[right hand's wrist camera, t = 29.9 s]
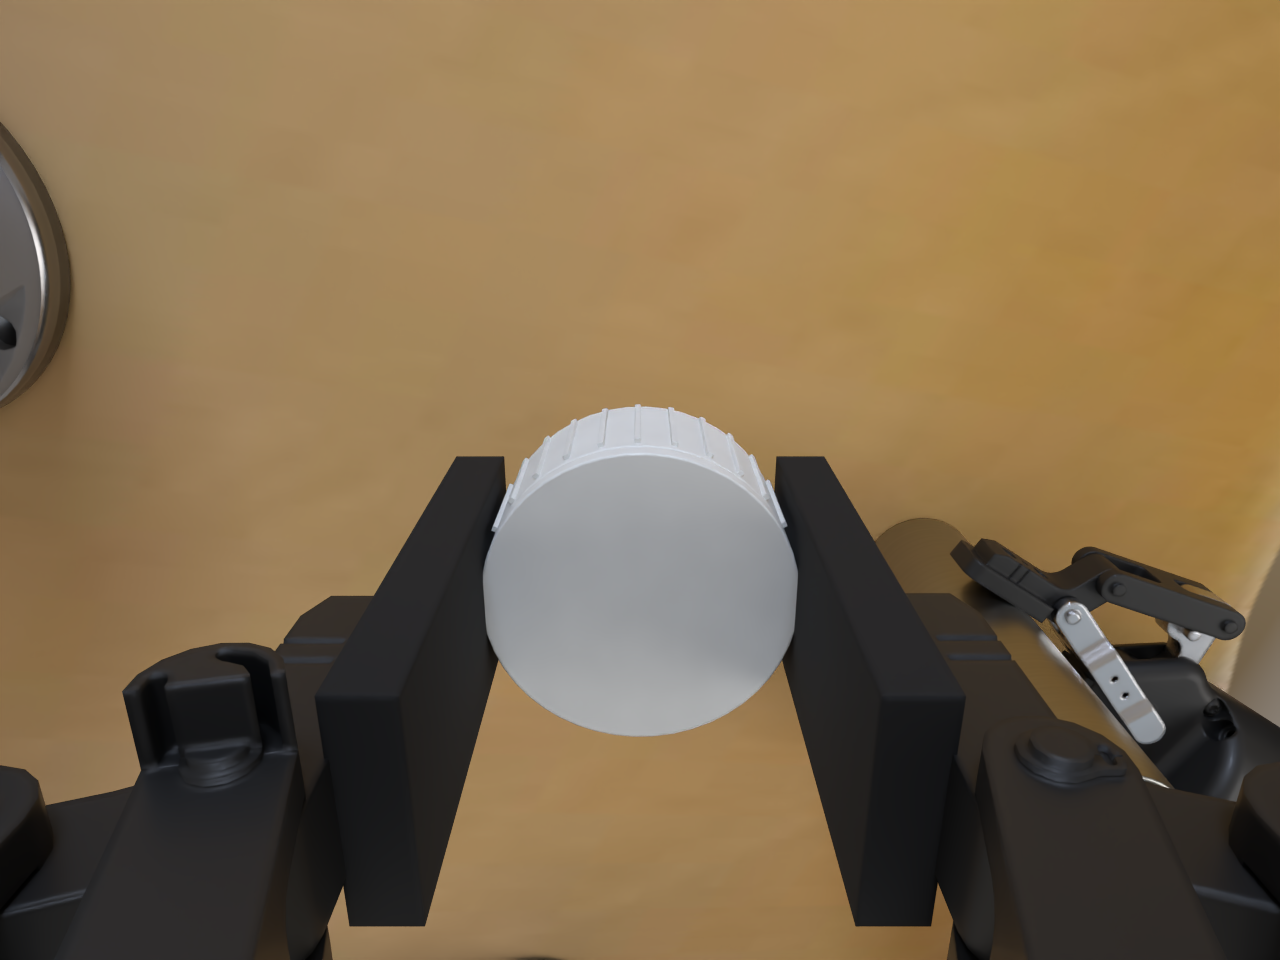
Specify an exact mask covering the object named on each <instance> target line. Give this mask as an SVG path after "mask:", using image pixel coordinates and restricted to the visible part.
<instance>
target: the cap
mask: <svg viewBox="0 0 1280 960" xmlns="http://www.w3.org/2000/svg"><path fill="white" fill-rule="evenodd" d="M785 527H787V524H786V521H785V518H784V516H783V513H782V511H781V508H780V506H779V503H778V500H777V498H776V495H775V493H774V490H773V488H772V485H771V483H770V480H767V481H765V479H764V477H763V475H762V474H761V472H760V470H759V467H758V465H757V462H756V459H755V457H754V456H753V455H752V454H751V455H750V456H749V455H748V454H747V453H746V452H745V450H744V449H742V448H741V447H740V446H739V445H738V444H737V443H736V442H735V441H734V438H733V435H731V434H730V433H728V434H727V435H726V434H725V433H723V432H722V431H721V430H719V429H718V428H716V427H714V426H712V425H711V424H709V423H707V422H706V421H705V418H703V417H700V418H696V417H693V416H690V415H688V414H685V413H682V412H678V411H674V408H672V407H668V409H664V408H655V407H641V404H635V407H625V408H618V409H611V410H608V408H605V409H602V412H600V413H596V414H593V415H590V416H587V417H585V418H583V419H580V420H578V421H577V419H574V420H572V421H571V424H570V425H568V426H567V427H565V428H563V429H562V430H560V431H558V432H557V433H556V434H554V435H553V436H552V437H551V438H550V437H549V436H547V437H546V438H545V439H544V442H543V444H542V445H541V446H540V447H539V448H538V449H537V450H536V451H535V453H534V454H533V455H532V456H531V457H530V458H529V459H527V458H525V459H524V460H523V463H522V465H521V468H520V471H519V473H518V476H517V479H516V481H515V483H514V484H509V486H508V489H507V491H506V494H505V497H504V499H503V502H502V504H501V507H500V509H499V512H498V515H497V517H496V520H495V522H494V525H493V527H492V530H491V531H493V532H495V535H494V537H493V540H492V543H491V545H490V548H489V551H488V554H487V557H486V559H485V564H484V569H483V590H484V604H485V618H486V631H487V635H488V638H489V640H490V643H491V645H492V648H493V650H494V652H495V654H496V656H497V657H498V659H499V661H500V662H501V664H502V666H503V668H504V669H505V670H506V672H507V673H508V674H509V675H510V677H511V678H512V679H513V681H514V682H515V683H516V684H517V685H518V686H519V687H520V688H521V689H522V690H523V691H524V692H525V693H526V694H527V695H528V696H529V697H530V698H532V699H533V700H534V701H536V702H537V703H538V704H540V705H541V706H542V707H543V708H545V709H547V710H548V711H550V712H552V713H553V714H555V715H557V716H558V717H560V718H562V719H565V720H567V721H569V722H571V723H574V724H576V725H578V726H581V727H585V728H588V729H591V730H594V731H598V732H603V733H608V734H613V735H622V736H633V737H640V736H659V735H667V734H674V733H678V732H682V731H686V730H690V729H694V728H696V727H699V726H702V725H704V724H707V723H710V722H712V721H714V720H716V719H718V718H720V717H722V716H724V715H726V714H728V713H729V712H731V711H732V710H734V709H735V708H737V707H738V706H740V705H741V704H743V703H744V702H745V701H747V700H748V699H749V698H750V697H751V696H752V695H754V694H755V693H756V692H757V691H758V690H759V689H760V688H761V687H762V686H763V685H764V683H765V682H766V681H767V680H768V679H769V678H770V677H771V675H772V674H773V673H774V671H775V670H776V668H777V667H778V665H779V664H780V662H781V661H782V659H783V657H784V655H785V653H786V651H787V649H788V647H789V645H790V643H791V640H792V637H793V634H794V626H795V613H796V598H797V584H798V569H797V565H796V561H795V558H794V554H793V551H792V548H791V546H790V543H789V540H788V538H787V535H786V532H785V530H784V528H785Z"/></svg>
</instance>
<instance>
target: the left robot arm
mask: <svg viewBox="0 0 1280 960" xmlns="http://www.w3.org/2000/svg"><path fill="white" fill-rule="evenodd" d="M950 555H951V556H952V558H953V559H954V560H955V562H956V563H957V564H958V566H959V567H960V568H961V569H962V571H963V572H964V573H965V574H967V575H968V576H969V577H970V578H971V579H973V580H974V581H976V582H977V583H979V584H980V585H982V586H984V587H985V588H987V589H988V590H990V591H992V592H993V593H995V594H996V595H998V596H1000V597H1001V598H1003V599H1004V600H1006V601H1008V602H1009V603H1011V604H1012V605H1014V606H1015V607H1017V608H1019V609H1021V610H1022V611H1024V612H1025V613H1027V614H1028V615H1030V616H1031V617H1033V618H1035V619H1036V620H1038V621H1039V622H1041V623H1042V622H1043V621H1044V620H1045V619H1046V618H1047V619H1048V621H1049V622H1050V623H1049V624H1050V626H1051V627H1052V629H1053V630H1054V632H1055V633H1056V635H1057V636H1058V638H1059V639H1060V641H1061V642H1062V644H1063V645H1064V647H1065V648H1066V650H1067V651H1068V652H1066V651H1065V650H1064V651H1063V652H1062V653H1061V654H1062V655H1063V656H1064V657H1065V658H1066V660H1067V661H1068V662H1069V663H1070V664H1071V666H1072V667H1073V668H1074V669H1075V670H1076V671H1077V673H1078V674H1079V675H1080V676H1081V677H1082V679H1083V680H1084V681H1085V682H1086V683H1087V685H1088V686H1089V687H1090V688H1091V689H1092V691H1093V692H1094V693H1095V694H1096V695H1097V697H1098V698H1099V699H1100V700H1101V701H1102V703H1103V704H1104V705H1105V706H1106V707H1107V709H1108V710H1109V711H1110V712H1111V713H1112V715H1113V716H1114V717H1115V718H1116V719H1117V720H1118V722H1119V723H1120V724H1121V725H1122V726H1123V728H1124V729H1125V730H1126V731H1127V732H1128V734H1129V735H1130V736H1131V737H1132V738H1133V740H1134V741H1135V742H1136V743H1137V744H1138V746H1139V747H1140V748H1141V749H1142V750H1143V752H1144V753H1145V754H1146V755H1147V756H1148V758H1149V759H1150V760H1151V761H1152V762H1153V763H1154V765H1155V766H1156V767H1157V768H1158V769H1159V771H1160V772H1161V773H1162V774H1163V775H1164V777H1165V778H1166V779H1167V780H1168V781H1169V783H1170V784H1171V785H1172V786H1173V787H1174V789H1176V790H1181V791H1186V792H1191V793H1196V794H1201V795H1206V796H1210V797H1215V798H1220V799H1225V800H1230V801H1235V802H1236V801H1237V798H1238V795H1239V791H1240V788H1241V785H1242V781H1243V778H1244V776H1245V775H1246V774H1248V773H1249V772H1250V771H1251V770H1252V769H1253V768H1255V767H1256V766H1257V765H1263V764H1269V763H1275V762H1280V727H1278V726H1277V725H1275V724H1274V723H1272V722H1270V721H1269V720H1267V719H1266V718H1264V717H1263V716H1261V715H1259V714H1258V713H1256V712H1255V711H1253V710H1252V709H1250V708H1249V707H1247V706H1246V705H1244V704H1242V703H1241V702H1239V701H1238V700H1236V699H1235V698H1233V697H1231V696H1230V695H1228V694H1227V693H1225V692H1224V691H1222V690H1221V689H1219V688H1217V687H1216V686H1214V685H1213V684H1211V683H1210V682H1208V681H1207V679H1206V676H1205V673H1204V671H1203V669H1202V668H1201V667H1200V665H1199V662H1200V661H1201V659H1202V658H1203V656H1204V655H1205V653H1206V652H1207V650H1208V649H1209V647H1210V646H1211V644H1212V643H1213V641H1214V640H1215V638H1218V639H1221V640H1230V639H1233V638H1235V637H1237V636H1238V635H1240V634H1241V633H1242V631H1243V630H1244V628H1245V623H1246V622H1245V618H1244V617H1243V616H1242V615H1241V614H1240V613H1239V612H1237V611H1236V610H1235V609H1233V608H1232V607H1231V606H1230V605H1229V604H1227V603H1226V602H1225V601H1223V600H1222V599H1221V598H1220V597H1218V596H1217V595H1216V594H1214V593H1213V592H1211V591H1210V590H1209V589H1208V588H1206V587H1205V586H1204V585H1202V584H1200V583H1198V582H1195V581H1192V580H1189V579H1186V578H1183V577H1180V576H1177V575H1174V574H1171V573H1168V572H1165V571H1162V570H1160V569H1157V568H1154V567H1151V566H1148V565H1145V564H1142V563H1139V562H1136V561H1133V560H1130V559H1127V558H1124V557H1121V556H1118V555H1115V554H1112V553H1110V552H1107V551H1104V550H1101V549H1098V548H1095V547H1084V548H1082V549H1080V550H1078V551H1077V552H1076V553H1075V554H1074V556H1073V558H1072V565H1070V566H1068V567H1067V568H1065V569H1063V570H1061V571H1059V572H1055V573H1047V572H1043V571H1041V570H1040V569H1038V568H1036V567H1035V566H1033V565H1032V564H1030V563H1029V562H1027V561H1026V560H1024V559H1022V558H1021V557H1019V556H1018V555H1016V554H1014V553H1013V552H1012V551H1010V550H1009V549H1007V548H1005V547H1004V546H1002V545H1001V544H999V543H998V542H996V541H993V540H988V539H981V540H980V541H979V542H978V543H977V544H976V546H975V547H973V546H972V545H970V544H969V543H967V542H966V541H964V540H961V541H960V542H959V543H958V544H957V545H956V547H955V548H954V549H953V550H952V551H951V552H950ZM1106 602H1109V603H1112V604H1115V605H1118V606H1121V607H1124V608H1127V609H1130V610H1133V611H1136V612H1139V613H1142V614H1145V615H1148V616H1151V617H1154V618H1155V621H1156V623H1157V624H1158V625H1159V626H1160V627H1161V628H1162V629H1163V630H1164V631H1166V632H1167V633H1168V641H1167V643H1164V642H1158V643H1138V644H1118V645H1111V644H1110V642H1109V641H1108V640H1107V638H1106V637H1105V635H1104V634H1103V632H1102V631H1101V629H1100V628H1099V626H1098V625H1097V623H1096V621H1095V620H1094V618H1093V617H1092V615H1091V614H1090V611H1092V610H1094V609H1096V608H1097V607H1099V606H1101V605H1102V604H1104V603H1106Z"/></svg>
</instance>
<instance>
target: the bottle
mask: <svg viewBox="0 0 1280 960" xmlns="http://www.w3.org/2000/svg"><path fill="white" fill-rule="evenodd" d="M961 540H964V541H966V542H967V543H969V542H968V541H967V540H966V539H965V538H964V537H963V535H962V534H961V533H960V532H959V531H958V530H957V529H955V528H954V527H952V526H951V525H949V524H947V523H945V522H942V521H939V520H935V519H923V518H922V519H913V520H908V521H905V522H902V523H900V524H897V525H895V526H893V527H892V528H890V529H888V530H887V531H886V532H885V533H883V534H882V535H881V536H880V537H879V538H878V539H877V540H876V542H875V543H876V545H877V547H878V548H879V550H880V552H881V553H882V555H883V557H884V558H885V560H886V562H887V563H888V565H889V567H890V568H891V570H892V572H893V574H894V575H895V577H896V579H897V580H898V582H899V584H900V585H901V587H902V589H903V590H904V592H905V593H950V594H952V595H954V596H955V597H957V598H958V599H960V600H961V601H963V602H964V603H966V604H967V605H969V606H970V607H972V608H974V609H975V610H977V611H978V612H980V613H981V614H982V616H983V617H984V619H985V620H986V621H987V623H988V624H989V625H990V627H991V628H992V630H993V631H994V632H995V634H996V635H997V640H998V641H1001V642H1002V643H1003V645H1004V646H1005V647H1006V649H1007V650H1008V651H1009V653H1010V654H1011V659H1012V660H1015V661H1016V662H1017V664H1018V665H1019V667H1020V668H1021V669H1022V671H1023V672H1024V673H1025V675H1026V676H1027V677H1028V679H1029V680H1030V682H1031V683H1032V684H1033V686H1034V687H1035V688H1036V690H1037V691H1038V693H1039V694H1040V695H1041V697H1042V698H1043V699H1044V701H1045V702H1046V703H1047V705H1048V706H1049V708H1050V709H1051V710H1052V712H1053V713H1054V714H1055V716H1056V717H1057V719H1060V720H1065V721H1069V722H1074V723H1076V724H1078V725H1081V726H1083V727H1085V728H1088V729H1090V730H1092V731H1095V732H1097V733H1099V734H1102V735H1103V736H1105V737H1106V738H1107V739H1109V740H1110V741H1112V742H1113V743H1114V744H1116V745H1117V746H1119V747H1120V748H1121V749H1123V750H1124V751H1125V752H1126V753H1127V754H1128V756H1129V757H1130V758H1131V760H1132V761H1133V762H1134V764H1135V765H1136V766H1137V768H1138V769H1139V771H1140V773H1141V775H1142V777H1143V779H1144V781H1145V782H1149V783H1152V784H1156V785H1160V786H1164V787H1167V788H1172V789H1174V787H1173V786H1172V785H1171V784H1170V783H1169V781H1168V780H1167V779H1166V778H1165V777H1164V775H1163V774H1162V773H1161V772H1160V771H1159V769H1158V768H1157V767H1156V766H1155V765H1154V763H1153V762H1152V761H1151V760H1150V759H1149V758H1148V756H1147V755H1146V754H1145V753H1144V752H1143V750H1142V749H1141V748H1140V747H1139V746H1138V744H1137V743H1136V742H1135V741H1134V740H1133V738H1132V737H1131V736H1130V735H1129V734H1128V732H1127V731H1126V730H1125V729H1124V728H1123V726H1122V725H1121V724H1120V723H1119V722H1118V720H1117V719H1116V718H1115V717H1114V716H1113V715H1112V713H1111V712H1110V711H1109V710H1108V709H1107V707H1106V706H1105V705H1104V704H1103V703H1102V701H1101V700H1100V699H1099V698H1098V697H1097V695H1096V694H1095V693H1094V692H1093V691H1092V689H1091V688H1090V687H1089V686H1088V685H1087V683H1086V682H1085V681H1084V680H1083V679H1082V677H1081V676H1080V675H1079V674H1078V673H1077V671H1076V670H1075V669H1074V668H1073V667H1072V666H1071V664H1070V663H1069V662H1068V661H1067V660H1066V658H1065V657H1064V656H1063V655H1062V654H1061V652H1060V651H1059V650H1058V649H1057V648H1056V646H1055V645H1054V644H1053V643H1052V642H1051V640H1050V639H1049V638H1048V637H1047V636H1046V634H1045V633H1044V632H1043V631H1042V630H1041V628H1040V627H1039V626H1038V625H1037V624H1036V623H1035V621H1034V620H1033V619H1032V618H1031V617H1030V615H1028V614H1027V613H1025V612H1024V611H1022V610H1021V609H1019V608H1017V607H1015V606H1014V605H1012V604H1011V603H1009V602H1008V601H1006V600H1004V599H1003V598H1001V597H1000V596H998V595H996V594H995V593H993V592H992V591H990V590H988V589H987V588H985V587H984V586H982V585H980V584H979V583H977V582H976V581H974V580H973V579H971V578H970V577H969V576H968V575H967V574H965V573H964V572H963V571H962V569H961V568H960V567H959V566H958V564H957V563H956V562H955V560H954V559H953V558H952V556H951V555H950V552H951V551H952V550H953V549H954V548H955V547H956V545H957V544H958V543H959V542H960V541H961Z"/></svg>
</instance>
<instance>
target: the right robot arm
mask: <svg viewBox="0 0 1280 960" xmlns="http://www.w3.org/2000/svg"><path fill="white" fill-rule="evenodd" d="M69 302H70V269H69V260H68V254H67V248H66V243H65V239H64V235H63V231H62V227H61V224H60V221H59V218H58V216H57V213H56V210H55V207H54V205H53V202H52V200H51V198H50V196H49V194H48V192H47V189H46V187H45V185H44V183H43V182H42V180H41V178H40V176H39V174H38V173H37V171H36V169H35V167H34V166H33V164H32V163H31V161H30V160H29V158H28V157H27V155H26V154H25V152H24V151H23V149H22V148H21V146H20V145H19V144H18V143H17V141H16V140H15V139H14V138H13V136H12V135H11V134H10V132H9V131H8V130H7V129H6V128H5V127H4V126H3V125H2V123H1V122H0V408H1V407H3V406H5V405H7V404H8V403H10V402H11V401H13V400H14V399H16V398H17V397H19V396H20V395H21V394H22V393H24V392H25V391H26V390H27V389H28V388H29V387H31V386H32V384H33V383H34V382H35V381H36V380H37V379H38V378H39V377H40V376H41V374H42V373H43V372H44V370H45V369H46V367H47V366H48V364H49V363H50V361H51V360H52V358H53V356H54V354H55V352H56V350H57V348H58V346H59V343H60V340H61V338H62V335H63V332H64V328H65V324H66V320H67V317H68V309H69ZM774 493H775V495H776V498H777V500H778V503H779V506H780V508H781V511H782V513H783V516H784V518H785V521H786V524H787V527H785V528H784V530H785V532H786V535H787V538H788V540H789V543H790V546H791V548H792V551H793V554H794V558H795V561H796V565H797V569H798V584H797V598H796V613H795V626H794V634H793V637H792V640H791V643H790V645H789V647H788V649H787V651H786V653H785V655H784V657H783V659H782V661H783V665H784V668H785V672H786V676H787V679H788V683H789V687H790V690H791V694H792V697H793V701H794V705H795V708H796V712H797V715H798V719H799V723H800V726H801V730H802V734H803V737H804V741H805V744H806V748H807V752H808V755H809V759H810V763H811V766H812V770H813V773H814V777H815V781H816V784H817V788H818V792H819V795H820V799H821V802H822V806H823V810H824V813H825V817H826V821H827V824H828V828H829V831H830V835H831V839H832V842H833V846H834V849H835V853H836V857H837V860H838V864H839V868H840V871H841V875H842V878H843V882H844V886H845V889H846V893H847V897H848V900H849V904H850V907H851V911H852V915H853V918H854V922H855V926H931V923H932V916H933V910H934V903H935V897H936V890H937V884H939V886H940V889H941V891H942V894H943V896H944V899H945V901H946V903H947V906H948V908H949V911H950V913H951V916H952V918H953V926H952V932H951V938H950V944H949V950H948V956H947V960H1280V762H1275V763H1269V764H1263V765H1257V766H1256V767H1255V768H1253V769H1252V770H1251V771H1250V772H1249V773H1248V774H1246V775H1245V776H1244V778H1243V781H1242V785H1241V788H1240V791H1239V795H1238V798H1237V801H1236V802H1235V801H1230V800H1225V799H1220V798H1215V797H1210V796H1206V795H1201V794H1196V793H1191V792H1186V791H1181V790H1176V789H1172V788H1167V787H1164V786H1160V785H1156V784H1152V783H1149V782H1145V781H1144V779H1143V777H1142V775H1141V773H1140V771H1139V769H1138V768H1137V766H1136V765H1135V764H1134V762H1133V761H1132V760H1131V758H1130V757H1129V756H1128V754H1127V753H1126V752H1125V751H1124V750H1123V749H1121V748H1120V747H1119V746H1117V745H1116V744H1114V743H1113V742H1112V741H1110V740H1109V739H1107V738H1106V737H1105V736H1103V735H1102V734H1099V733H1097V732H1095V731H1092V730H1090V729H1088V728H1085V727H1083V726H1081V725H1078V724H1076V723H1074V722H1069V721H1065V720H1060V719H1057V717H1056V716H1055V714H1054V713H1053V712H1052V710H1051V709H1050V708H1049V706H1048V705H1047V703H1046V702H1045V701H1044V699H1043V698H1042V697H1041V695H1040V694H1039V693H1038V691H1037V690H1036V688H1035V687H1034V686H1033V684H1032V683H1031V682H1030V680H1029V679H1028V677H1027V676H1026V675H1025V673H1024V672H1023V671H1022V669H1021V668H1020V667H1019V665H1018V664H1017V662H1016V661H1015V660H1012V659H1011V654H1010V653H1009V651H1008V650H1007V649H1006V647H1005V646H1004V645H1003V643H1002V642H1001V641H998V640H997V635H996V634H995V632H994V631H993V630H992V628H991V627H990V625H989V624H988V623H987V621H986V620H985V619H984V617H983V616H982V614H981V613H980V612H978V611H977V610H975V609H974V608H972V607H970V606H969V605H967V604H966V603H964V602H963V601H961V600H960V599H958V598H957V597H955V596H954V595H952V594H950V593H905V592H904V590H903V589H902V587H901V585H900V584H899V582H898V580H897V579H896V577H895V575H894V574H893V572H892V570H891V568H890V567H889V565H888V563H887V562H886V560H885V558H884V557H883V555H882V553H881V552H880V550H879V548H878V547H877V545H876V543H875V542H874V540H873V538H872V536H871V535H870V533H869V531H868V530H867V528H866V526H865V525H864V523H863V521H862V520H861V518H860V516H859V515H858V513H857V511H856V510H855V508H854V506H853V504H852V503H851V501H850V499H849V498H848V496H847V494H846V493H845V491H844V489H843V488H842V486H841V484H840V483H839V481H838V479H837V478H836V476H835V474H834V472H833V471H832V469H831V467H830V466H829V464H828V462H827V461H826V459H825V457H776V474H775V492H774ZM505 494H506V481H505V464H504V457H456V458H455V460H454V462H453V463H452V465H451V467H450V468H449V470H448V472H447V473H446V475H445V477H444V479H443V480H442V482H441V484H440V485H439V487H438V489H437V490H436V492H435V494H434V495H433V497H432V499H431V500H430V502H429V504H428V506H427V507H426V509H425V511H424V512H423V514H422V516H421V517H420V519H419V521H418V522H417V524H416V526H415V527H414V529H413V531H412V532H411V534H410V536H409V538H408V539H407V541H406V543H405V544H404V546H403V548H402V549H401V551H400V553H399V554H398V556H397V558H396V559H395V561H394V563H393V564H392V566H391V568H390V570H389V571H388V573H387V575H386V576H385V578H384V580H383V581H382V583H381V585H380V586H379V588H378V590H377V591H376V593H375V595H374V596H330V597H329V598H327V599H326V600H324V601H323V602H321V603H320V604H318V605H317V606H315V607H314V608H312V609H310V610H309V611H307V612H306V613H304V614H303V615H301V616H300V618H299V619H298V620H297V622H296V623H295V624H294V626H293V627H292V629H291V630H290V631H289V633H288V634H287V635H286V637H285V638H284V644H280V645H279V647H278V648H277V649H276V651H274V650H272V649H271V648H268V647H264V646H260V645H256V644H252V643H220V644H214V645H209V646H204V647H199V648H194V649H190V650H187V651H184V652H182V653H179V654H176V655H174V656H171V657H168V658H166V659H163V660H161V661H159V662H158V663H156V664H154V665H153V666H151V667H149V668H148V669H146V670H144V671H143V672H141V673H139V674H138V675H137V676H136V677H135V678H134V679H133V680H132V681H131V682H130V683H129V685H128V686H127V687H126V688H125V689H124V690H123V691H122V693H123V697H124V701H125V705H126V709H127V713H128V718H129V722H130V726H131V730H132V734H133V738H134V742H135V746H136V751H137V755H138V759H139V763H140V767H141V772H140V774H139V776H138V779H137V781H136V783H135V785H134V786H132V787H128V788H124V789H121V790H117V791H113V792H109V793H104V794H99V795H94V796H89V797H84V798H80V799H75V800H70V801H65V802H60V803H55V804H51V805H46V806H45V802H44V799H43V795H42V792H41V789H40V785H39V782H38V780H37V779H36V778H34V777H33V776H32V775H31V774H30V773H29V772H27V771H26V770H25V769H19V768H13V767H7V766H0V960H333V959H332V952H331V944H330V938H329V932H328V926H327V925H328V922H329V920H330V917H331V915H332V912H333V910H334V907H335V905H336V902H337V900H338V897H339V895H340V892H341V890H342V887H343V886H344V893H345V899H346V906H347V912H348V919H349V926H425V924H426V920H427V917H428V913H429V910H430V906H431V902H432V899H433V895H434V891H435V888H436V884H437V881H438V877H439V873H440V870H441V866H442V862H443V859H444V855H445V852H446V848H447V844H448V841H449V837H450V833H451V830H452V826H453V823H454V819H455V815H456V812H457V808H458V805H459V801H460V797H461V794H462V790H463V786H464V783H465V779H466V776H467V772H468V768H469V765H470V761H471V757H472V754H473V750H474V747H475V743H476V739H477V736H478V732H479V728H480V725H481V721H482V718H483V714H484V710H485V707H486V703H487V699H488V696H489V692H490V689H491V685H492V681H493V678H494V674H495V670H496V667H497V663H498V660H499V659H498V657H497V656H496V654H495V652H494V650H493V648H492V645H491V643H490V640H489V638H488V635H487V631H486V618H485V604H484V590H483V569H484V564H485V559H486V557H487V554H488V551H489V548H490V545H491V543H492V540H493V537H494V535H495V532H493V531H491V530H492V527H493V525H494V522H495V520H496V517H497V515H498V512H499V509H500V507H501V504H502V502H503V499H504V497H505Z"/></svg>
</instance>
